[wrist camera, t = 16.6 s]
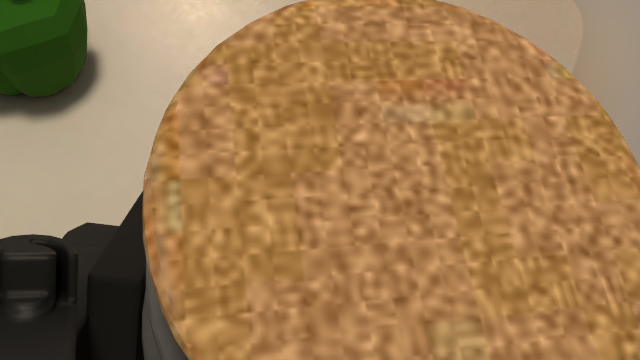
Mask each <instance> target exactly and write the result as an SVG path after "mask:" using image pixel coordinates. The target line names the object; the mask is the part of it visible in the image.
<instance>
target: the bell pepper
mask: <svg viewBox="0 0 640 360" xmlns="http://www.w3.org/2000/svg"><path fill="white" fill-rule="evenodd" d="M86 50H87V20H86V8H85V3H84V0H0V94H6V95H12V96H14V95H17V94H19V93H24V94H26V95H28V96H31V97H34V96H51V95H53V94H55V93H57V92H58V91H60V90H62V89H63V88H65V87H66V86H68V85H70V84H71V83H72V82H74V81H75V79H76V77H77V76H78V74H79V72H80V71H81V69H82V67H83V66H84V64H85V57H86Z"/></svg>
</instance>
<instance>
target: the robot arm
mask: <svg viewBox="0 0 640 360" xmlns="http://www.w3.org/2000/svg"><path fill="white" fill-rule="evenodd" d="M142 205H143V192H142V193H141V195H140V196H139V198H138V199H137V201H136V202H135V204H134V205H133V207H132V208H131V210H130V211H129V213H128V214H127V216H126V217H125V219H124V220H123V222H122V223H121V225H120V226H112V225H104V224H96V223H85V224H83V225H81V226H79V227H77V228H75V229H73V230H71V231H69V232H67V233H66V235H65V236H64V237H63V238H62V239H61V238H57V237H53V236H47V235H33V234H31V235H19V236H11V237H7V238H3V239H0V360H144V354H143V346H142V311H143V304H144V297H145V290H146V254H145V248H144V242H143V216H142Z"/></svg>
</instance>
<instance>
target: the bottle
mask: <svg viewBox="0 0 640 360" xmlns="http://www.w3.org/2000/svg"><path fill="white" fill-rule="evenodd" d="M142 216H143V242H144V248H145V254H146V290H145V297H144V304H143V311H142V346H143V354H144V360H640V167H639V165H638V163H637V161H636V160H635V158H634V156H633V154H632V152H631V150H630V148H629V146H628V144H627V143H626V141H625V139H624V137H623V136H622V134H621V133H620V131H619V130H618V128H617V127H616V125H615V124H614V122H613V121H612V119H611V118H610V117H609V115H608V114H607V112H606V111H605V110H604V109H603V107H602V106H601V105H600V103H599V102H598V101H597V100H596V98H595V97H593V95H592V94H591V93H590V92H589V91H588V90H587V89H586V88H585V87H584V86H583V85H582V84H581V83H579V81H578V80H577V79H576V78H575V77H574V76H573V75H572V74H571V73H570V72H569V71H568V70H567V69H566V68H565V67H564V66H562V65H561V64H560V63H558V62H557V61H556V60H554V59H553V58H552V57H550V56H549V55H548V54H546V53H545V52H544V51H542V50H541V49H540V48H538V47H537V46H536V45H534V44H533V43H531V42H530V41H529V40H527V39H525V38H523V37H522V36H520V35H518V34H516V33H515V32H513V31H511V30H509V29H508V28H506V27H504V26H502V25H501V24H499V23H497V22H495V21H493V20H491V19H488V18H486V17H484V16H481V15H479V14H476V13H474V12H472V11H469V10H467V9H465V8H461V7H458V6H454V5H451V4H447V3H443V2H440V1H436V0H307V1H303V2H299V3H295V4H291V5H288V6H285V7H283V8H281V9H279V10H276V11H274V12H272V13H270V14H268V15H266V16H264V17H262V18H259V19H257V20H255V21H253V22H251V23H249V24H248V25H246V26H245V27H243V28H242V29H241V30H239V31H238V32H236V33H235V34H233V35H232V36H230V37H229V38H228V39H226V40H225V41H223V42H222V43H220V44H219V45H217V46H216V47H215V48H214V49H213V50H212V51H211V53H210V54H209V55H208V56H207V57H206V58H205V59H204V60H203V61H202V62H201V63H200V64H199V65H198V66H197V67H196V68H195V69H194V70H193V71H192V72H191V73H190V74H189V75H188V77H187V78H186V80H185V81H184V83H183V84H182V86H181V87H180V89H179V90H178V92H177V93H176V94H175V96H174V97H173V99H172V101H171V102H170V104H169V106H168V108H167V109H166V112H165V114H164V116H163V119H162V121H161V124H160V126H159V128H158V131H157V133H156V136H155V140H154V143H153V147H152V150H151V154H150V158H149V161H148V165H147V168H146V172H145V175H144V188H143V205H142Z"/></svg>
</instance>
